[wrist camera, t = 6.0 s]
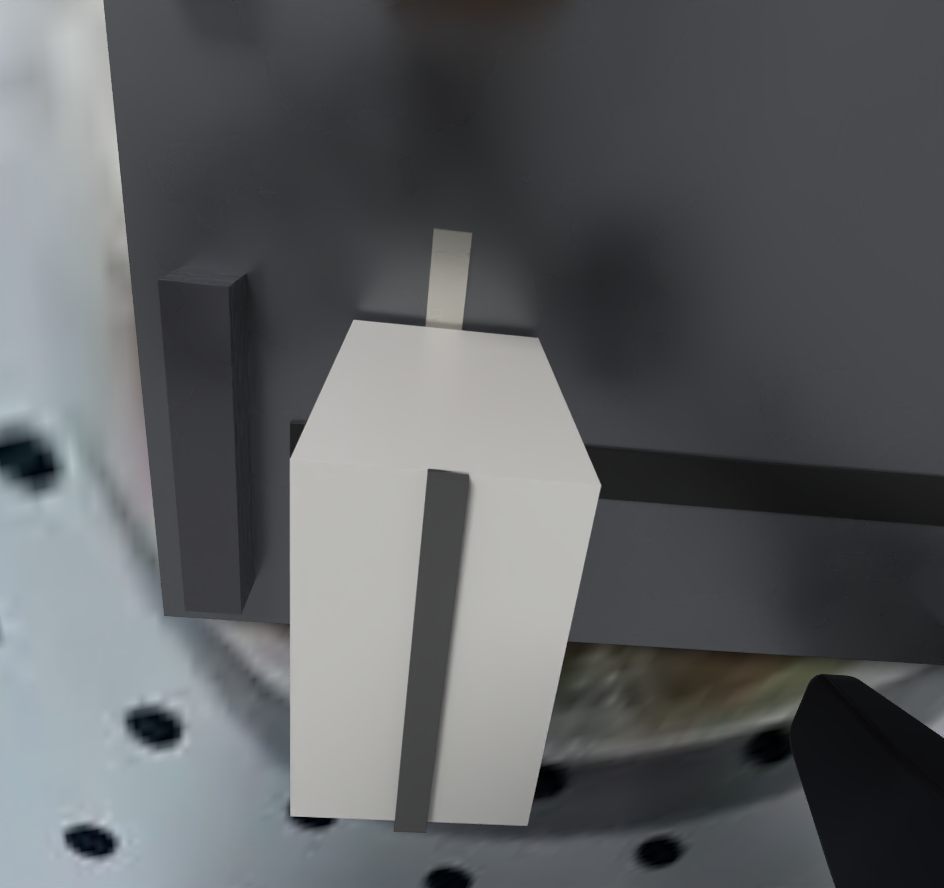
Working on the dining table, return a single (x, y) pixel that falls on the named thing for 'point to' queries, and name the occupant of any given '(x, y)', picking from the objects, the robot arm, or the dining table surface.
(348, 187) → the grey slider panel
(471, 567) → the fader
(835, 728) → the robot arm
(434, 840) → the dining table surface
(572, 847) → the dining table surface
